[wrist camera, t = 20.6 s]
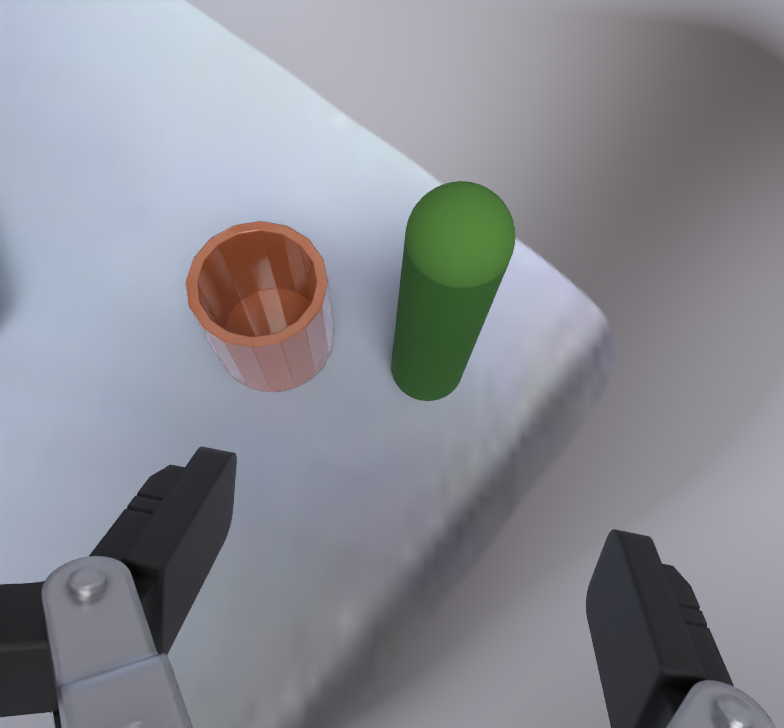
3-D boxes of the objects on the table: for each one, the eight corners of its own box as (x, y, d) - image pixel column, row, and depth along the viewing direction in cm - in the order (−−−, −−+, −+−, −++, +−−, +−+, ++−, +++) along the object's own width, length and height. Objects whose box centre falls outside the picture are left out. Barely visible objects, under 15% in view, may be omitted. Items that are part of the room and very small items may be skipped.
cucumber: (385, 393, 35) (398, 246, 21) (398, 328, 36) (419, 148, 22) (456, 407, 35) (518, 269, 21) (467, 341, 36) (532, 169, 22)
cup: (203, 379, 35) (168, 331, 29) (234, 276, 37) (209, 210, 31) (318, 402, 35) (308, 358, 28) (343, 297, 37) (339, 235, 31)
